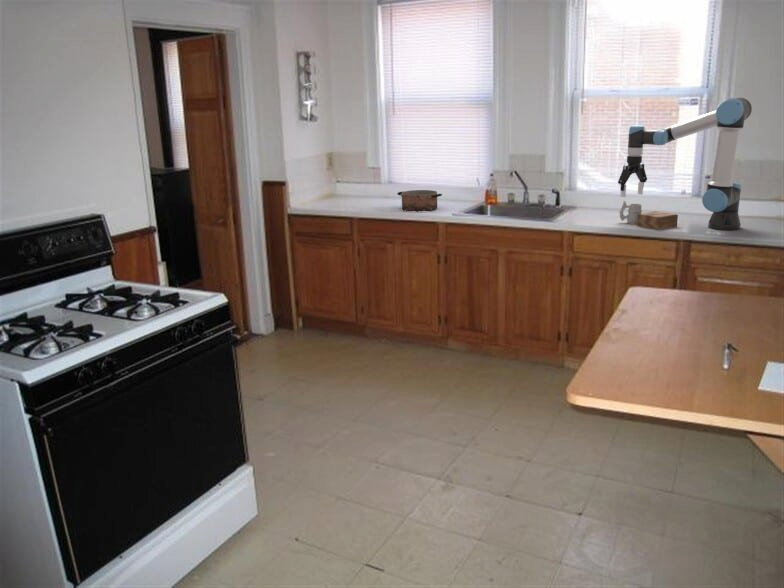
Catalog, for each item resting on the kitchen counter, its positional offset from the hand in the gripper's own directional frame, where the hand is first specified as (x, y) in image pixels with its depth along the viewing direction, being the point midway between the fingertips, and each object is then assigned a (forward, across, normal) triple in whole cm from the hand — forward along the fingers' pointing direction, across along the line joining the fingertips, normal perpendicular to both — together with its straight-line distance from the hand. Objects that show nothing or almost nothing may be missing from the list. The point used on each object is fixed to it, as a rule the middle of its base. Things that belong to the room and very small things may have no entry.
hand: (631, 195), depth 380 cm
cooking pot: (+17, +61, -114) cm, 130 cm away
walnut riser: (+15, -3, +16) cm, 22 cm away
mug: (+15, 0, 0) cm, 15 cm away
